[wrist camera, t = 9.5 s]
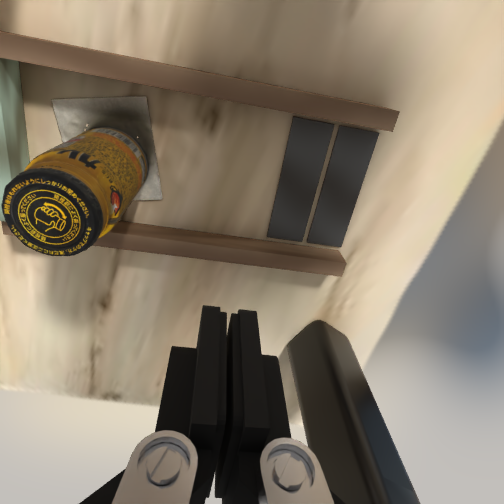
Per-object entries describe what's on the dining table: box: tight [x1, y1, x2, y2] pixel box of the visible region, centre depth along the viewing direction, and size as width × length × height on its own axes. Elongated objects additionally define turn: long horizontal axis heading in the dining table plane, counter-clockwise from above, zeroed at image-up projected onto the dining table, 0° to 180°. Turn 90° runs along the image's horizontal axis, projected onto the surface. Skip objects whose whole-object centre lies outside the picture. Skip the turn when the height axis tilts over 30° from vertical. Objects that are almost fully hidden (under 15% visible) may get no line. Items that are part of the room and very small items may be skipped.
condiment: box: [1, 96, 163, 256], centre depth 24 cm, size 7×8×12 cm
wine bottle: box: [288, 320, 420, 504], centre depth 28 cm, size 6×6×30 cm
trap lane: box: [0, 31, 399, 277], centre depth 29 cm, size 15×30×3 cm, turn 80°
